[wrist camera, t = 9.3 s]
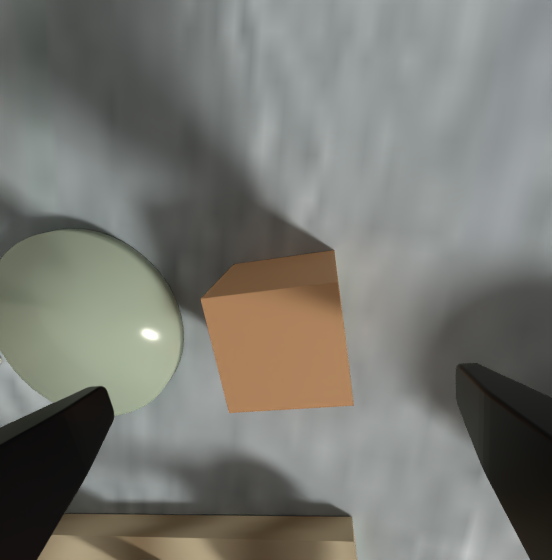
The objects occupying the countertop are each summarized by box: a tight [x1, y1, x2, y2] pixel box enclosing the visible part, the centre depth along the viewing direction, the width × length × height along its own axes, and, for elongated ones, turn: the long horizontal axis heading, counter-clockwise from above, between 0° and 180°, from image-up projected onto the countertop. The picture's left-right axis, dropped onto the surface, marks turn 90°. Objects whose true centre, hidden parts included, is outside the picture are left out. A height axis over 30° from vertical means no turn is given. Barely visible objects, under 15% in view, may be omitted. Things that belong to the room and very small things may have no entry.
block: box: [201, 250, 354, 413], centre depth 12 cm, size 4×4×4 cm
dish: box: [0, 228, 184, 415], centre depth 15 cm, size 9×9×1 cm
